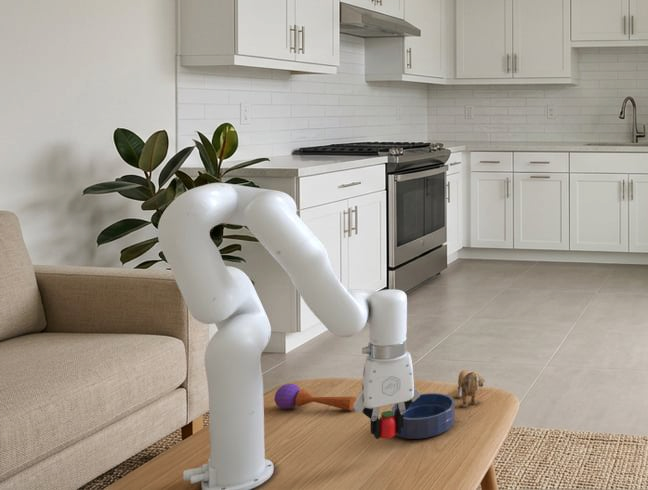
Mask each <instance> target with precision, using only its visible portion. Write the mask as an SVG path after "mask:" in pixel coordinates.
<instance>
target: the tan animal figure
mask: <svg viewBox="0 0 648 490" xmlns="http://www.w3.org/2000/svg"><path fill="white" fill-rule="evenodd" d="M485 383H486V379H485V378H483V377H482V376H481V375H480V373H479V372H478V371H471V372H470V371H469V370H467V369H463V370H461V371H460V372H459V374H458V380H457V395H456V399H461V398H462V406H461V407H462V408H467V407H468V401H467V400H468V399H467V396H468V397H470V403H471V404H472V405H477V404H478V401H476V395H477V392H479V390H480V388H484V385H485Z"/></svg>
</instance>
